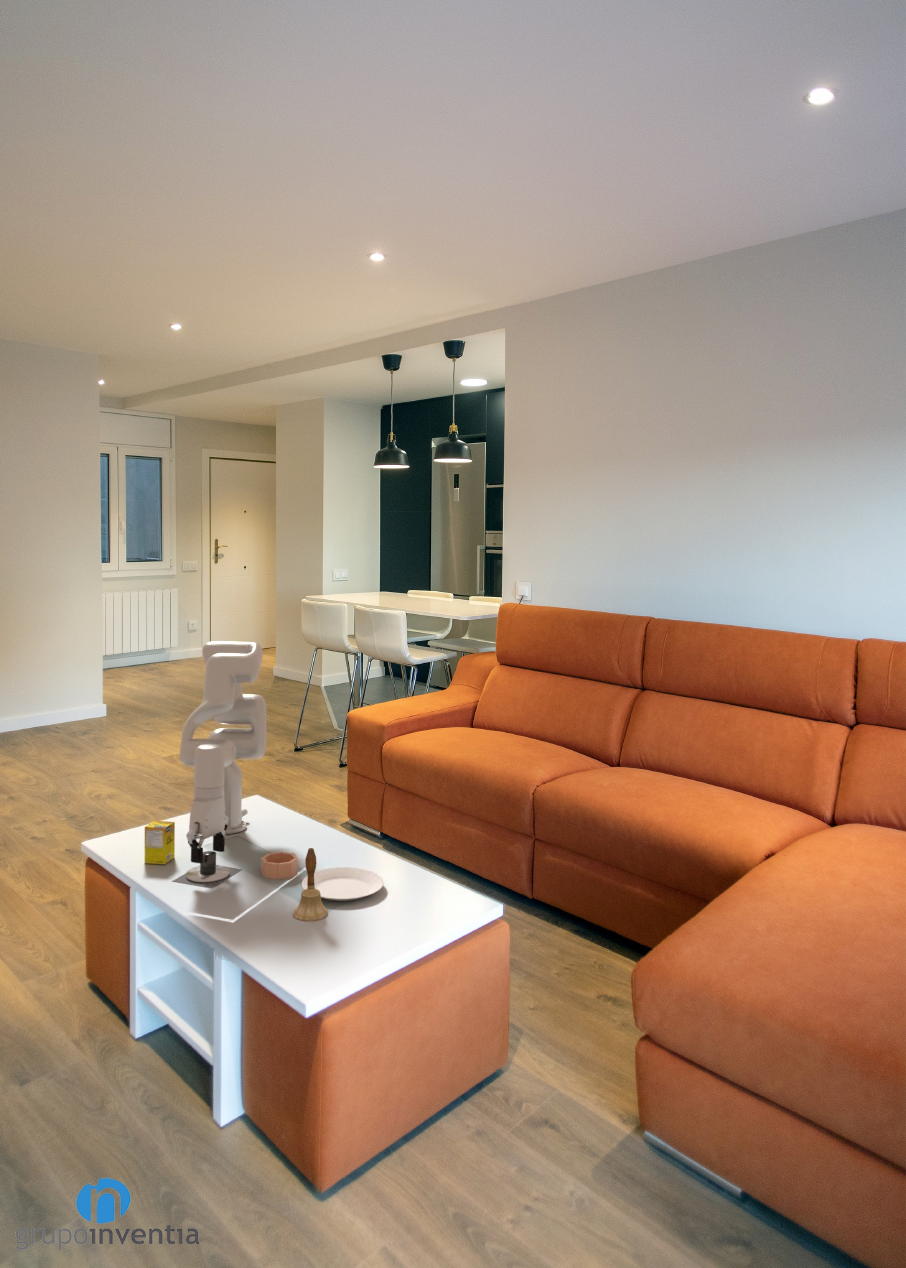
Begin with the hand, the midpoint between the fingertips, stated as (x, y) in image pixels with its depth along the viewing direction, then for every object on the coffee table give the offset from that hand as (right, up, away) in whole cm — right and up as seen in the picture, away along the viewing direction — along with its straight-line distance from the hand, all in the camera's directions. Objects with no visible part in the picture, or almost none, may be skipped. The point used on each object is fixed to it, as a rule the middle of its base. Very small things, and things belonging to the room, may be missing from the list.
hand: (207, 856), depth 210 cm
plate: (+36, -8, -4) cm, 37 cm away
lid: (0, -5, +1) cm, 5 cm away
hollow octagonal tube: (+18, -6, +5) cm, 19 cm away
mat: (0, -6, +1) cm, 6 cm away
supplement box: (-16, -5, +10) cm, 20 cm away
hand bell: (+30, -9, -19) cm, 37 cm away
